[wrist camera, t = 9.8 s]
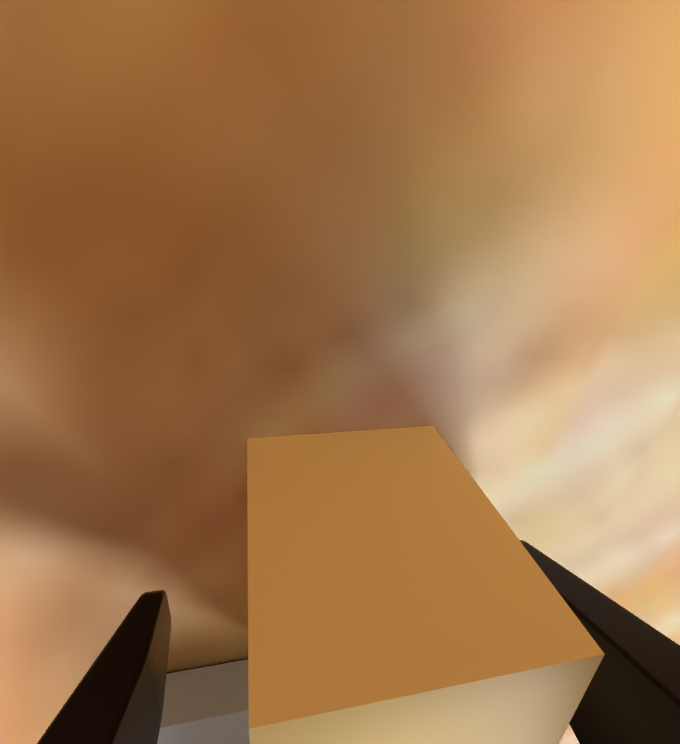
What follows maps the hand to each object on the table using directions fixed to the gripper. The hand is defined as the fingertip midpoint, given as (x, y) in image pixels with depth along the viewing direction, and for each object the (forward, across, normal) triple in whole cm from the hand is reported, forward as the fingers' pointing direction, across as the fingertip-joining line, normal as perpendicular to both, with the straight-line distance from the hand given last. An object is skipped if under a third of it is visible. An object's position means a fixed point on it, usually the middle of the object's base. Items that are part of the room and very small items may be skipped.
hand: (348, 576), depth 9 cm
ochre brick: (+1, 0, 0) cm, 1 cm away
